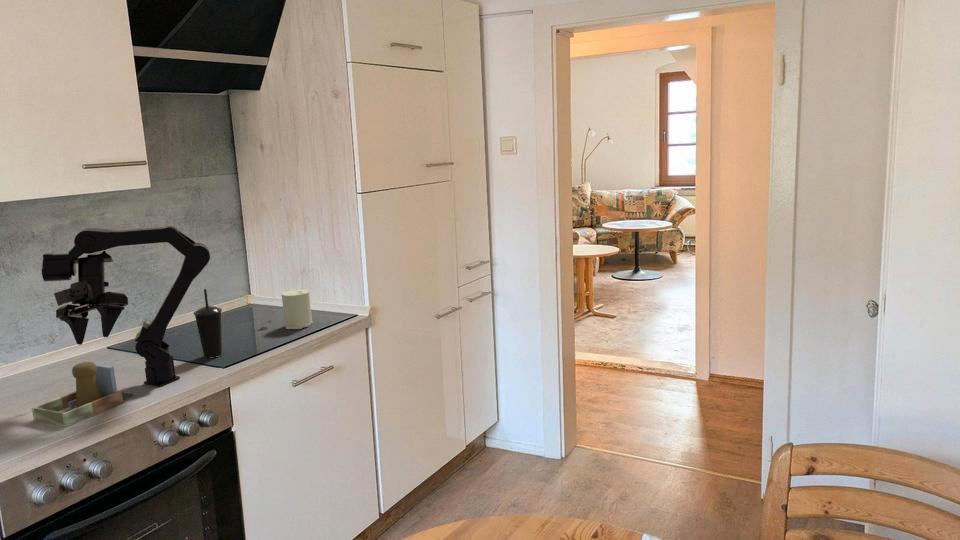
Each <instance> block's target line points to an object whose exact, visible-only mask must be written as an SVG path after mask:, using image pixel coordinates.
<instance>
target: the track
mask: <svg viewBox="0 0 960 540" xmlns="http://www.w3.org/2000/svg"><path fill="white" fill-rule="evenodd" d="M122 392H123V391H121V390H117V392H115V393H113V394H110V395H108V396H105V397H103V398H100V399H98V400H95V401H93V402H90V403H88V404H85V405H83V406H80V407H78V408H76V407H74V408H72V409H70V408H69V405H68V402H70V401H73V400H75V399H76V390H75V391H72V392H70V393H67V394H64V395H62V396H60V397H56V398H54V399H52V400H49V401H46V402H44V403H40V404H38V405H36V406H33V407H31V412H32V418H33V421H36V422H41V423H46V424H51V425H57V426H61V427H69V426H72V425H75V424H76V422H77V423H79V422H82V421H83V419H84V420H86V419H88V418H87V417H89V418H91V417H93V416H96V415H98V414H100V413H103V412H105V411H107V410H109V408H110V409H112V408H114V406H115V407H117V406H119V405H121V403H122V404H123V403H124V400H123V398H122ZM66 409H70V410H68V411H66V412H62V411H63V410H66ZM104 410H105V411H104ZM102 411H103V412H102ZM97 413H98V414H97ZM95 414H96V415H95ZM90 416H91V417H90ZM85 418H86V419H85Z"/></svg>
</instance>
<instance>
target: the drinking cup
mask: <svg viewBox="0 0 960 540" xmlns="http://www.w3.org/2000/svg"><path fill="white" fill-rule="evenodd" d="M207 292H208V291H207V288H205V289H204V288H203V294H204V301H205V306H202V307H201V308H199V309H196V310H195V311H194V312H193V315H194V318H195V322H196V326H197V330H198V335H199V339H200V344H201V349H202V354H203V357H204V358H205V357H206V358H205V359H208V358H210V357H216V356H219V355H221V354H222V355H223V350H222V349H223V347H222V311H223V309H222V307H217V306H212V305H211V306H210V305H209V301H208V300H209V299H208V293H207ZM222 355H221V356H222ZM210 359H211V358H210Z"/></svg>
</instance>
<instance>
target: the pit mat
mask: <svg viewBox="0 0 960 540" xmlns="http://www.w3.org/2000/svg"><path fill="white" fill-rule="evenodd" d="M133 395H134V396H135V394H134V393H129V392H124V391H122V398H123V401H125V400H126V398H127V399H129V398H131V396H132V397H134V396H133Z"/></svg>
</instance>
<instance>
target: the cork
mask: <svg viewBox="0 0 960 540" xmlns="http://www.w3.org/2000/svg"><path fill="white" fill-rule="evenodd" d="M95 364H96V363H95V362H92V361H84V362H80V363H77V364H75V365H74V366H73V367H72V370H71V374H72V376H73V377H74V378H75V391H76V407H75V408H78V407H80V406H83V405H85V404H88V403H90V402H93V401H95V400H98V399H100V398H102V394H101V391H100V388H99V385H98V382H97V379H96V376H95V375H96V373H97V367H96V365H95Z"/></svg>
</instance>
